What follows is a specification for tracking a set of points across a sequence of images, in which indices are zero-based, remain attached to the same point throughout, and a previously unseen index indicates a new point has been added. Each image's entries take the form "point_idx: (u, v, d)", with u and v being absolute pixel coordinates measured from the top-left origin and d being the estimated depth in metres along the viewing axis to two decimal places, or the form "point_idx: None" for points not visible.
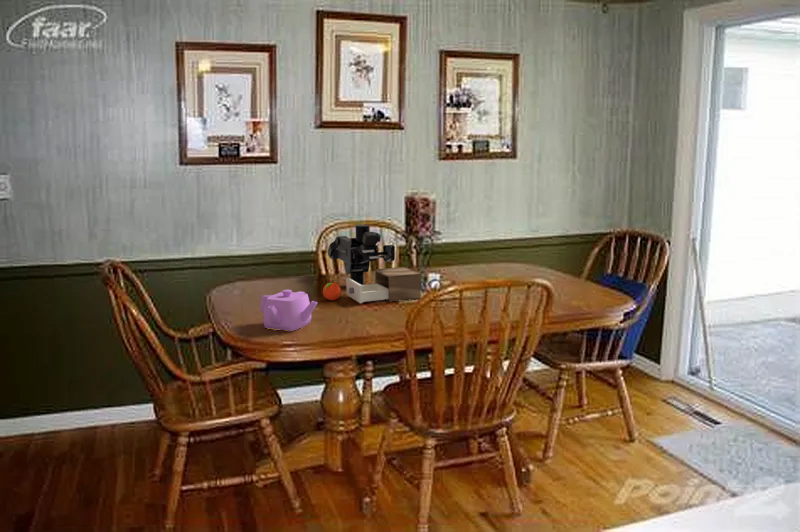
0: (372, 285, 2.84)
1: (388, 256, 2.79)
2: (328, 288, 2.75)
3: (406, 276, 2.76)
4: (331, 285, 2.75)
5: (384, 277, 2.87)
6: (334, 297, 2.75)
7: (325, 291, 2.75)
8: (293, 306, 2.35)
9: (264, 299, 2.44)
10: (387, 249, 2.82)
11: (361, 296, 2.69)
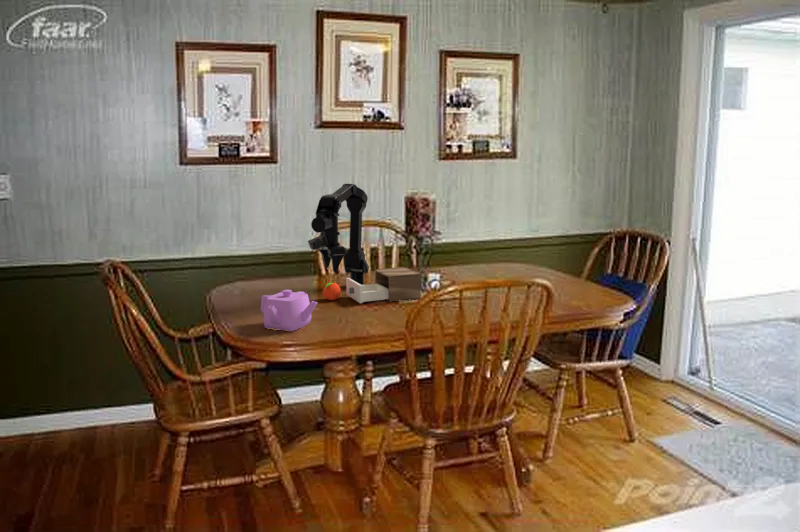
0: (372, 285, 2.84)
1: None
2: (328, 288, 2.75)
3: (406, 276, 2.76)
4: (331, 285, 2.75)
5: (384, 277, 2.87)
6: (334, 297, 2.75)
7: (325, 291, 2.75)
8: (293, 306, 2.35)
9: (264, 299, 2.44)
10: (330, 257, 2.69)
11: (361, 296, 2.69)
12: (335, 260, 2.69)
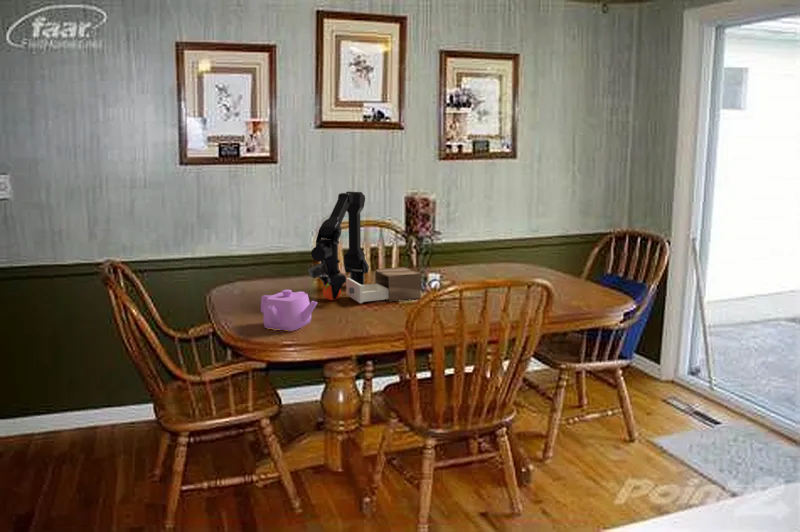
0: (372, 285, 2.84)
1: None
2: (328, 288, 2.75)
3: (406, 276, 2.76)
4: None
5: (384, 277, 2.87)
6: None
7: (325, 291, 2.75)
8: (293, 306, 2.35)
9: (264, 299, 2.44)
10: (330, 285, 2.71)
11: (361, 296, 2.69)
12: (334, 287, 2.72)
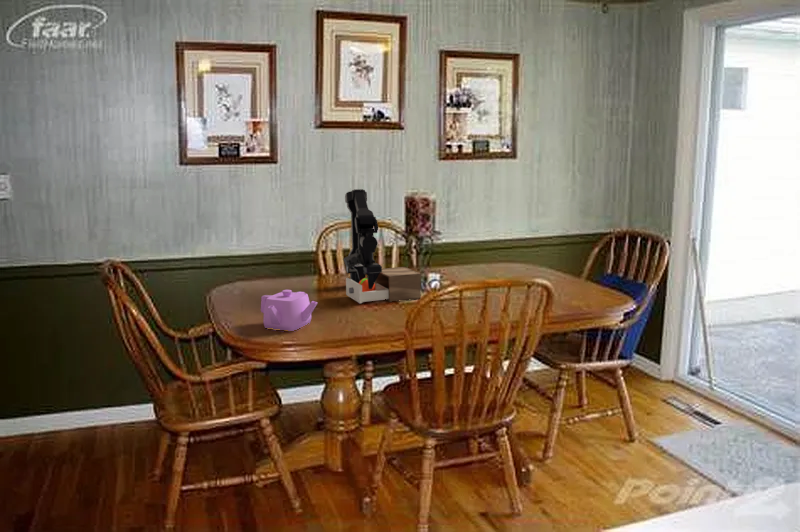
0: None
1: None
2: (363, 284, 2.75)
3: (406, 276, 2.76)
4: (366, 281, 2.75)
5: (384, 277, 2.87)
6: None
7: None
8: (293, 306, 2.35)
9: (264, 299, 2.44)
10: (366, 275, 2.71)
11: (361, 296, 2.69)
12: (371, 277, 2.72)
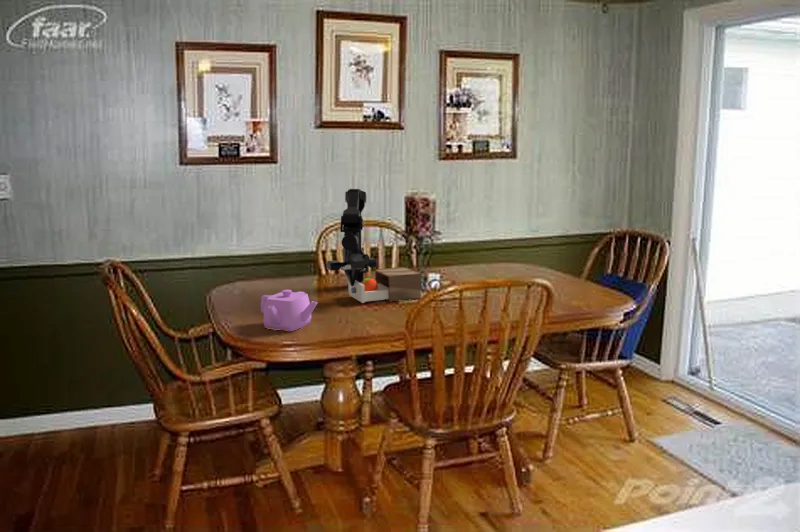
0: None
1: None
2: (366, 283, 2.75)
3: (406, 276, 2.76)
4: (368, 280, 2.76)
5: (384, 277, 2.87)
6: None
7: None
8: (293, 306, 2.35)
9: (264, 299, 2.44)
10: (356, 272, 2.73)
11: (363, 296, 2.70)
12: None
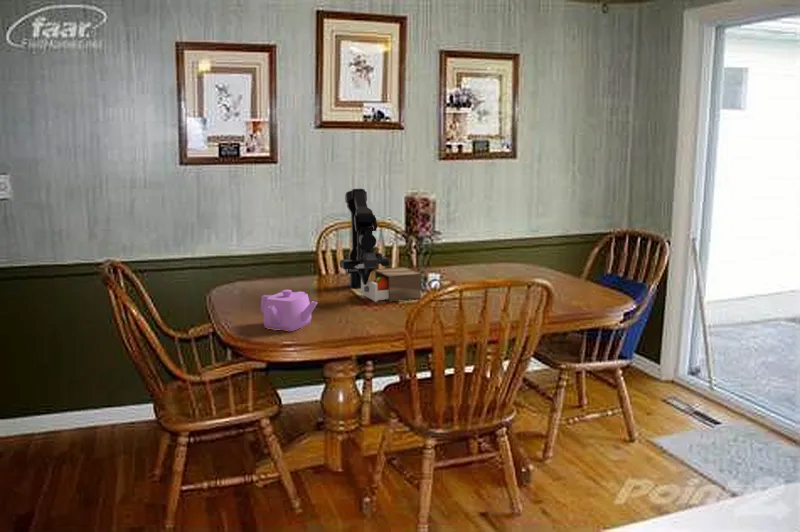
0: None
1: None
2: (378, 282, 2.77)
3: (406, 276, 2.76)
4: (381, 279, 2.78)
5: None
6: None
7: None
8: (293, 306, 2.35)
9: (264, 299, 2.44)
10: (369, 270, 2.75)
11: (376, 294, 2.72)
12: None
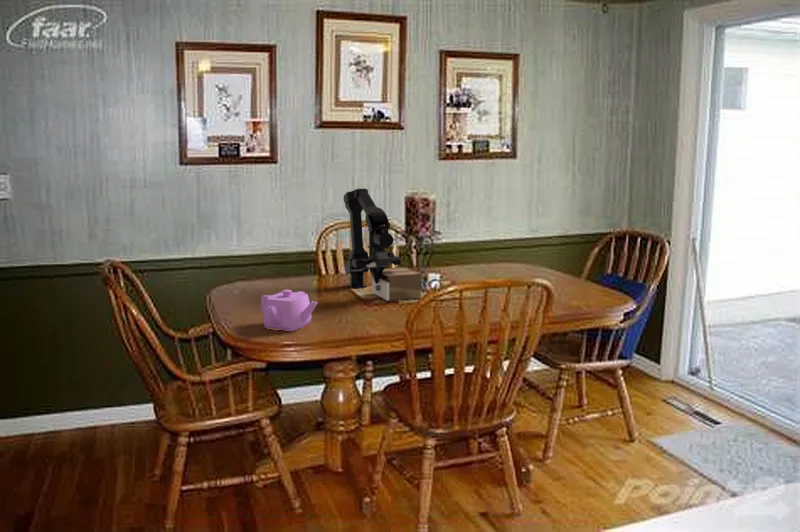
0: None
1: None
2: None
3: (406, 276, 2.76)
4: None
5: (384, 277, 2.87)
6: None
7: None
8: (293, 306, 2.35)
9: (264, 299, 2.44)
10: (381, 269, 2.77)
11: (388, 293, 2.74)
12: None
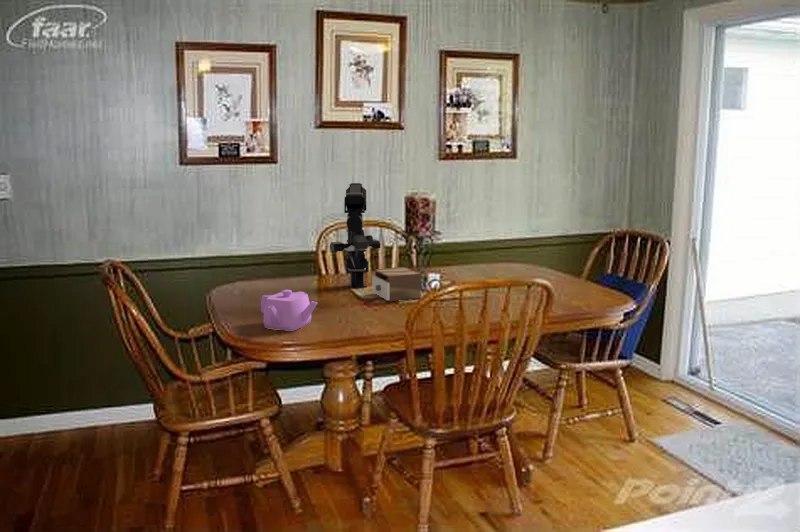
0: None
1: None
2: None
3: (406, 276, 2.76)
4: None
5: (384, 277, 2.87)
6: None
7: None
8: (293, 306, 2.35)
9: (264, 299, 2.44)
10: (359, 253, 2.72)
11: (388, 293, 2.74)
12: None
